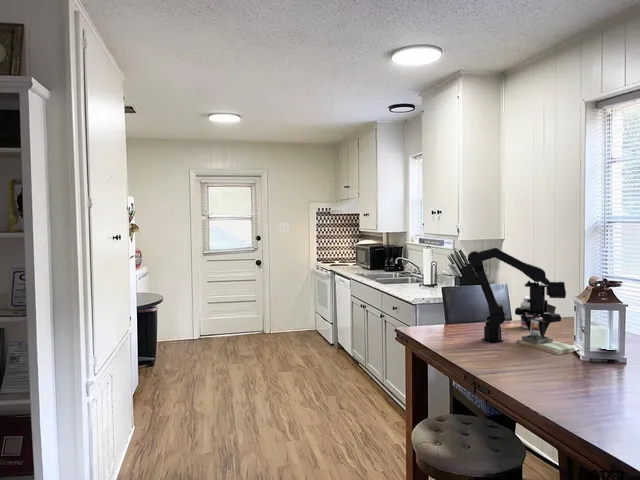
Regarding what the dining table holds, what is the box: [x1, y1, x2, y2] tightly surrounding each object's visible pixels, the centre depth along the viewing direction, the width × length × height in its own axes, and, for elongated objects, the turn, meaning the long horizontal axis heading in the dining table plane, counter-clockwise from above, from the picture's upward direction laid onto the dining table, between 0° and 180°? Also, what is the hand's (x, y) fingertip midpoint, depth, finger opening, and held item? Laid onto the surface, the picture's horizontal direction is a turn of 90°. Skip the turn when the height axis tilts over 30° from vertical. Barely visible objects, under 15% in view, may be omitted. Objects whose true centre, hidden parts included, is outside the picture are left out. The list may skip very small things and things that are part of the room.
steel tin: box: [529, 317, 544, 340], centre depth 192 cm, size 5×5×10 cm
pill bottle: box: [520, 296, 540, 330], centre depth 219 cm, size 8×8×14 cm
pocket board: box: [516, 334, 575, 356], centre depth 188 cm, size 12×20×3 cm, turn 23°
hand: (537, 335), depth 192 cm, fingers closed on steel tin, 5 cm apart
